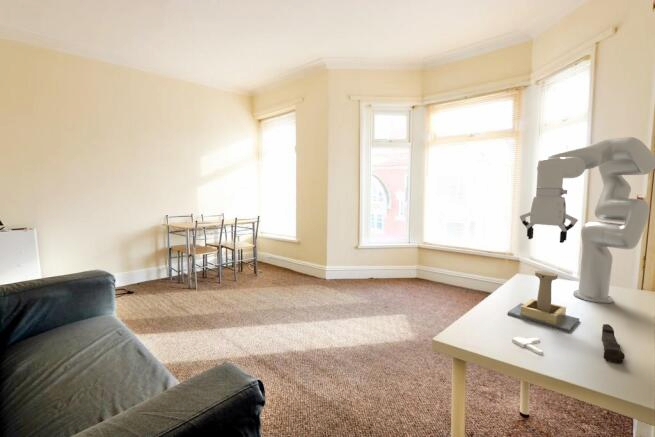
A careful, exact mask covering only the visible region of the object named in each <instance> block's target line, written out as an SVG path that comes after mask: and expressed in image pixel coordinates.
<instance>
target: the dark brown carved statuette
mask: <svg viewBox="0 0 655 437" xmlns="http://www.w3.org/2000/svg"><path fill="white" fill-rule="evenodd" d="M601 328H602V331H601V342H602V345H603V351H604V352H603V359H604V360H605V361H606V362H609V363H613V364H615V365H616V364H617V365H621V364H623V362H624V360H625V358H626V355H625V354H624V352H623V351H621V344H620V343H618V341H617V339H616V336H615V330H614V328H613V326H612V325H610V324H609V323H606V324H602V327H601Z"/></svg>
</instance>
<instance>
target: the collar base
mask: <svg viewBox="0 0 655 437" xmlns="http://www.w3.org/2000/svg"><path fill="white" fill-rule="evenodd" d="M566 312H567V307H566V306H562V305H557V304H553V303H551V307H550V311H549V313H548V312H544V311H540V310H538V308H537V299H534V298H531V299H530V300H528V301H526V302H525V303H522V302H520V303H519V304H517V305H516V306H514V307H513V308H511V309H510V310H508V311H507V316H511V317H514V318H518V319H520V320H525V321H529V322H531V323H535V324H538V325H541V326H545V327H548V328H551V329H555V330H559V331H562V332H565V333H570V332H571V331H572V330H573V329H574V328H575V327H576V325H578V324H579V322H580V318H578V317H575V316H571V315H567V314H566Z"/></svg>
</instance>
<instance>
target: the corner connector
mask: <svg viewBox="0 0 655 437" xmlns="http://www.w3.org/2000/svg"><path fill="white" fill-rule="evenodd" d="M540 341H541V339H540V338H539V337H530V338H526V337H523V336H516V337H512V338H511V342H513V343H514V344H516V345H518V346H520V347H521V348H526V349H528V350H529V351H531V352H534V354H538V355H543V353H544V350H542V349H541V348H538V347H537V346H534V344H538V343H541V342H540Z"/></svg>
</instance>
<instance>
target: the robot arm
mask: <svg viewBox="0 0 655 437" xmlns="http://www.w3.org/2000/svg"><path fill="white" fill-rule="evenodd" d="M597 167H598V170H599V174H600V175H601V179H602V183H603V187H602V191H601V193H600V195H599V199H598V201H597V202H596V203H597V204H596V206H595V209H594V217H595V218H596V219H598V220H600V221H589V222H586V223H584V225H583V226H582V227H581V230H580V231H581V232H580V233H581V234H580V236H581V243H582V244H581V246H582V250H581V262H580V263H581V264H580V272H579V281H578V282H579V283H578V289H577V290H574V291H573V295H574V296H575V297H577V298H578V299H581V300H584V301H587V302H592V303H597V304H598V303H599V304H611V303H613V302H614V298H613V297H612V296H610V295H609V294H610V293H609V292H610V286H611V285H610V283H611V276H612V268H613V266H612V265H613V254H612V253H611V251H610V248H613V249H618V250H619V249H620V250H629V251H630V250H633V249H634V248H636V247H637V245H638V244H639V243H640V240H641V237H642V234H643V232H644V229H645V227H646V224H647V222H648V219H649V215H650V205H649V204H648V202H647V201H645V200H643V199H642V198H641V199H640V198H629V197H630V195H631V192H632V191H631V190H632V187H631V185H630V184H629V182H628V181H627V180H626V178H624V176H642V175H649V174H650V173H652V172H653V171H654V170H655V154H654V153H653V152H652V151H651V149H650V148H649V147H648V146H647V145H646V144H645V142H643V141H641V140H640V139H639V138H636V137H633V136H628V137H617V138H607V139H602V140H600V141H597V142H594V143H591V144H589V145H587V146H583V147H580V148H579V147H578V148H575V149H571V150H568V151H564V152H559V153H556V154H555V153H554V154H552V155H549V156H547V157H544V158H541V159H539V160H538V162H537V167H536V171H537V173H536V174H537V177H536V187H535V188H536V189H535V196H534V197H533V199H532V203H531V208H530V211H529V212H528V213H524V214H522V215H520V216H519V218H520V221H521V223H522V224H523V226H525V228H526V237H527V238H528V240H532V239H533V238H534V227H533V226H535V225H541V226H542V225H543V226H553V227H554V226H557V227H559V229H560V230H561V231H560V232H559V234H560V235H559V243H561V244H564V243H565V241H567V237H568V236H567V235H568V231H569V230H570V229H572V228H574V227H575V225H576V224H577V223H578V221H579V220H578V218H575V217H573V216H571V215H570V214H567V209H566V208H567V206H566V204H567V203H566V198H565V197H564V195H567V194H568V190H567V189H564V188H563V184H564V183H563V182H564V179H575V178H579V177H580V176H582V174H584V172H585V171H586V170H590V169H594V168H597ZM528 217H529V221H528V220H527V218H528ZM567 220H568V221H570V222H569V224H568V225H566V222H567ZM605 221H607V222H605Z"/></svg>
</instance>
